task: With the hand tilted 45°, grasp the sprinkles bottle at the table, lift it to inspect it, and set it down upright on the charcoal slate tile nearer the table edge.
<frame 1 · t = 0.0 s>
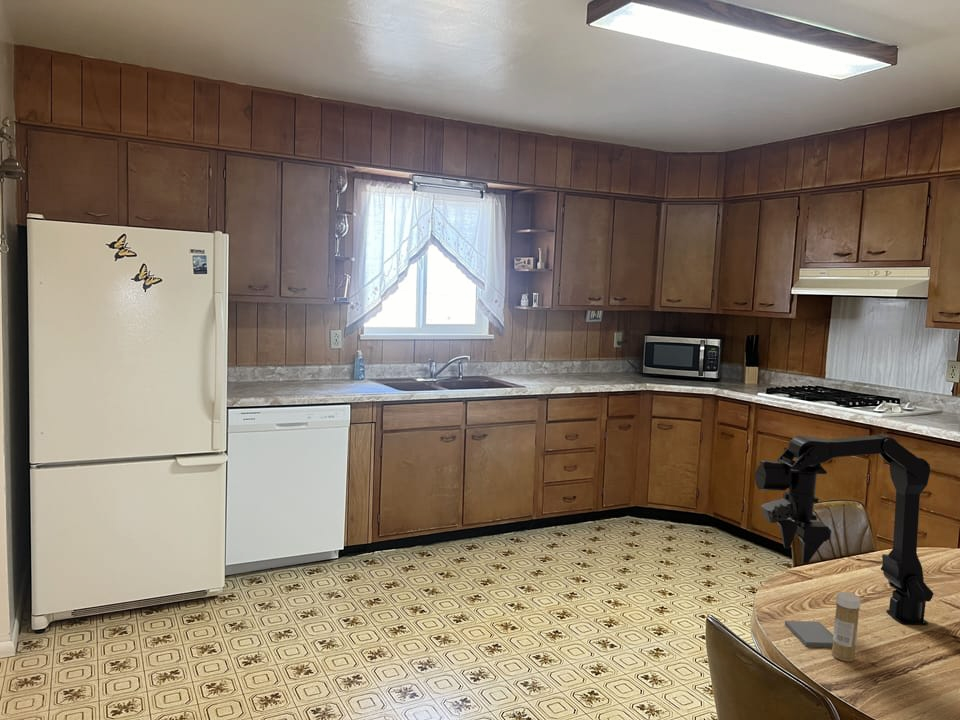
hand: (795, 555, 169), 15 cm above the table, tool pointing down, fingers open, 9 cm apart
slate tile: (812, 635, 160), on the table
sprinkles bottle: (842, 657, 151), on the table
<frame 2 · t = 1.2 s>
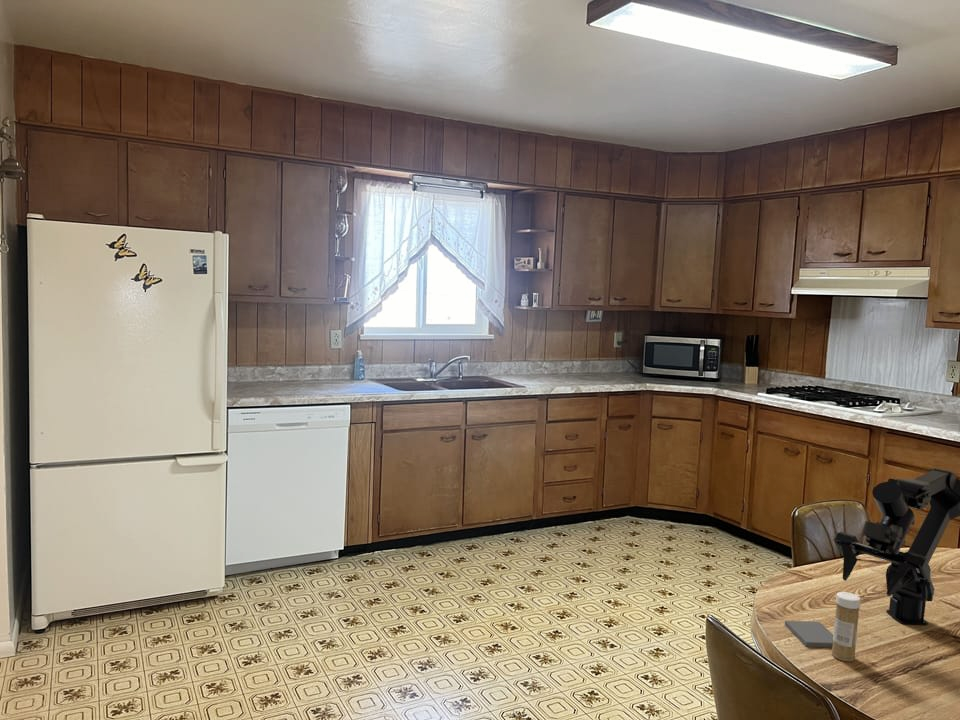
hand: (865, 587, 155), 13 cm above the table, tool tilted 45°, fingers open, 9 cm apart
nothing on the table moved.
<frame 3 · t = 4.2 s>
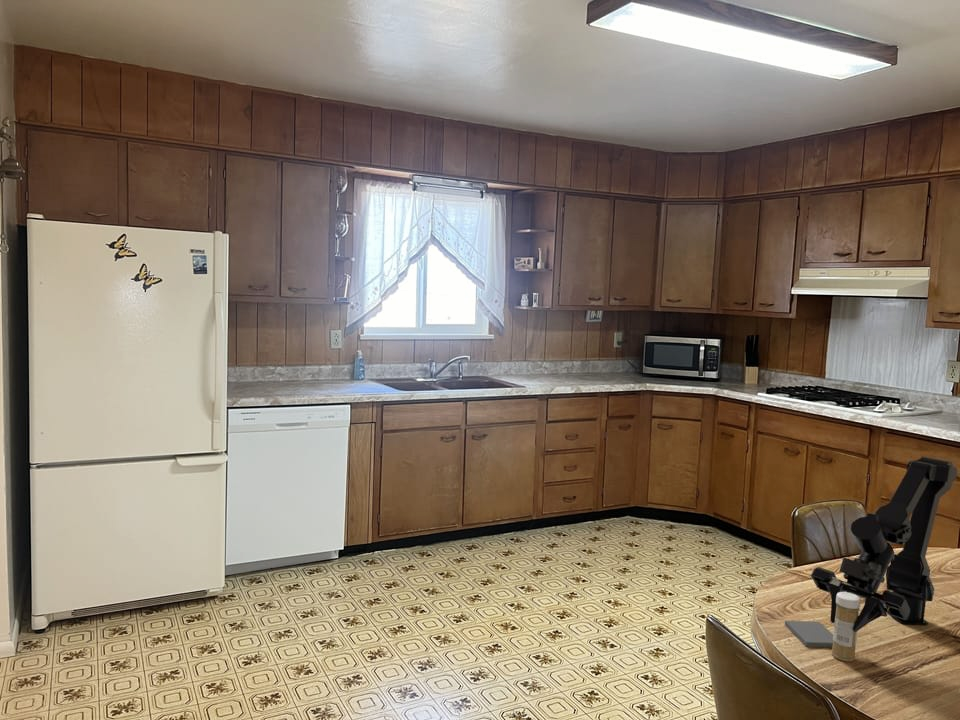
hand: (842, 626, 150), 7 cm above the table, tool tilted 45°, fingers closed on sprinkles bottle, 4 cm apart
sprinkles bottle: (842, 657, 151), on the table, touching gripper
when the fingers open (9 cm above the table, at t = 8.2 s): sprinkles bottle stays where it is, resting on slate tile.
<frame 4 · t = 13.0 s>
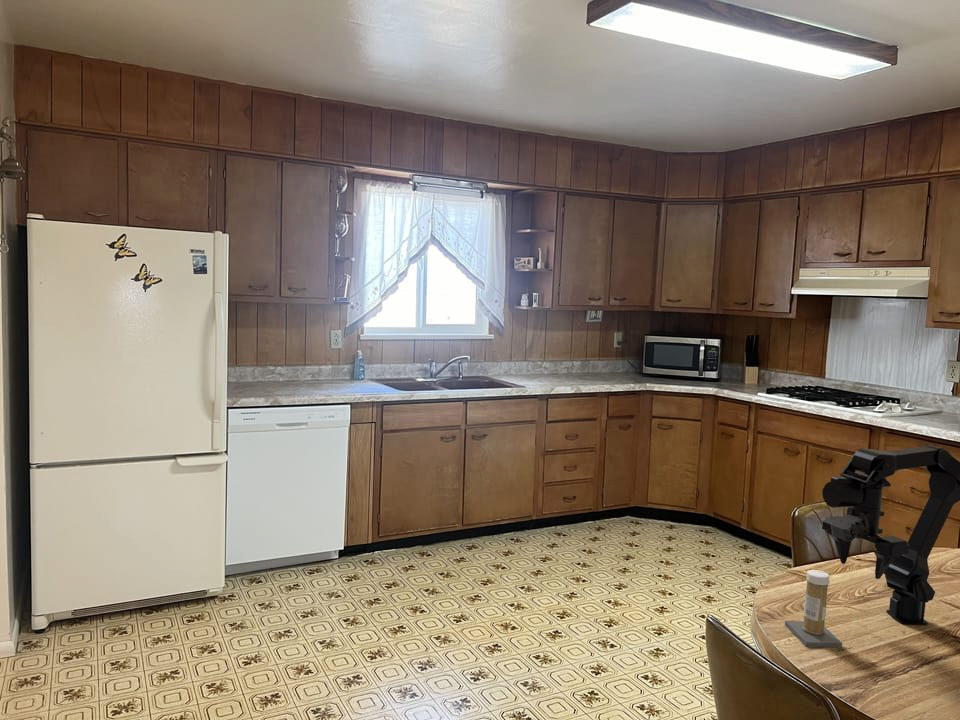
hand: (859, 570, 165), 13 cm above the table, tool pointing down, fingers open, 9 cm apart
sprinkles bottle: (812, 631, 160), point 1 cm above the table, touching slate tile
at the end: sprinkles bottle inside the target area on the slate tile (0.4 cm from its centre), point 0.8 cm above the slate tile's base; sprinkles bottle tilted 0°; the gripper is holding nothing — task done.
